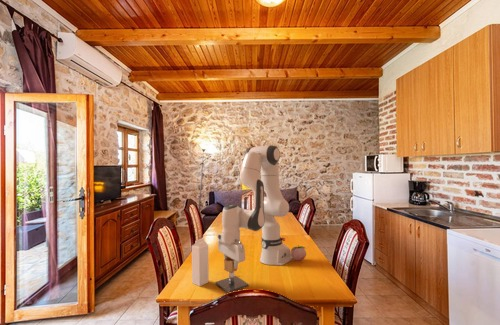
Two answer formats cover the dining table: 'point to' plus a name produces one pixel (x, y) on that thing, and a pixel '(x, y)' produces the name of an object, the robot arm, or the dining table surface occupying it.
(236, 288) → the grey peg stand
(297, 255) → the decorative fruit
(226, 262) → the collar
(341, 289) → the dining table surface
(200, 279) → the milk
